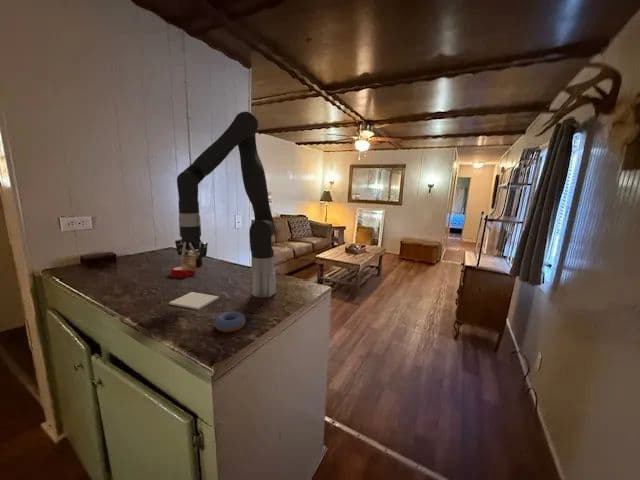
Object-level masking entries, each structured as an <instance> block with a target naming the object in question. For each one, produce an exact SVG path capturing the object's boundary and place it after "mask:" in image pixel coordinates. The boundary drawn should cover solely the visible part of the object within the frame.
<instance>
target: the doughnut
mask: <svg viewBox="0 0 640 480" xmlns="http://www.w3.org/2000/svg"><path fill="white" fill-rule="evenodd" d="M246 321H247V319H246V316H245V315H244V313H242V312H240V311H236V310H235V311H234V310H233V311H231V310H230V311H226V312H222V313H221V314H219V315H218V316H216V317H215V320H214V326H215V329H216V330H217V331H219V332H221V333H233V332H236V331H240V330H242V329H243V327H244V326H245V325H246Z"/></svg>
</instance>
